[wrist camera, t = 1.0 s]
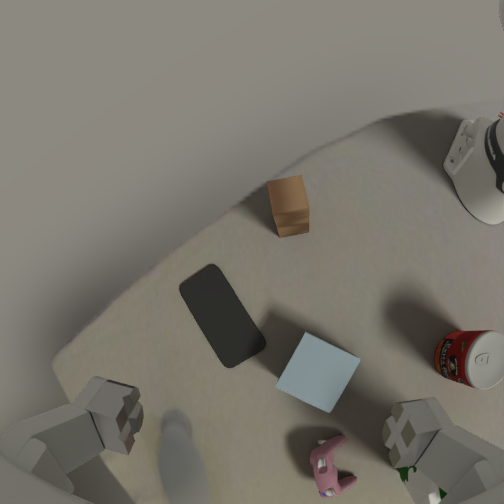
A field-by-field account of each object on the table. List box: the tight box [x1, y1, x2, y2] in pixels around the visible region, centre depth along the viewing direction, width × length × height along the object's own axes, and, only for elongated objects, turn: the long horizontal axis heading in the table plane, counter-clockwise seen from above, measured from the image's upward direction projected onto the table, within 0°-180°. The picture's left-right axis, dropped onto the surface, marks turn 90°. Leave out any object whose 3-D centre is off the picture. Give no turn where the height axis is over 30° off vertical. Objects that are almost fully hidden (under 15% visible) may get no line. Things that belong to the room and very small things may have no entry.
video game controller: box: [310, 435, 357, 498], centre depth 33 cm, size 10×5×7 cm, turn 17°
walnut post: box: [267, 175, 309, 238], centre depth 41 cm, size 4×4×10 cm
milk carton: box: [398, 465, 447, 504], centre depth 23 cm, size 9×9×20 cm
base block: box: [275, 331, 361, 413], centre depth 37 cm, size 8×8×6 cm
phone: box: [180, 265, 266, 368], centre depth 44 cm, size 7×1×15 cm
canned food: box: [435, 330, 504, 390], centre depth 30 cm, size 8×8×11 cm
